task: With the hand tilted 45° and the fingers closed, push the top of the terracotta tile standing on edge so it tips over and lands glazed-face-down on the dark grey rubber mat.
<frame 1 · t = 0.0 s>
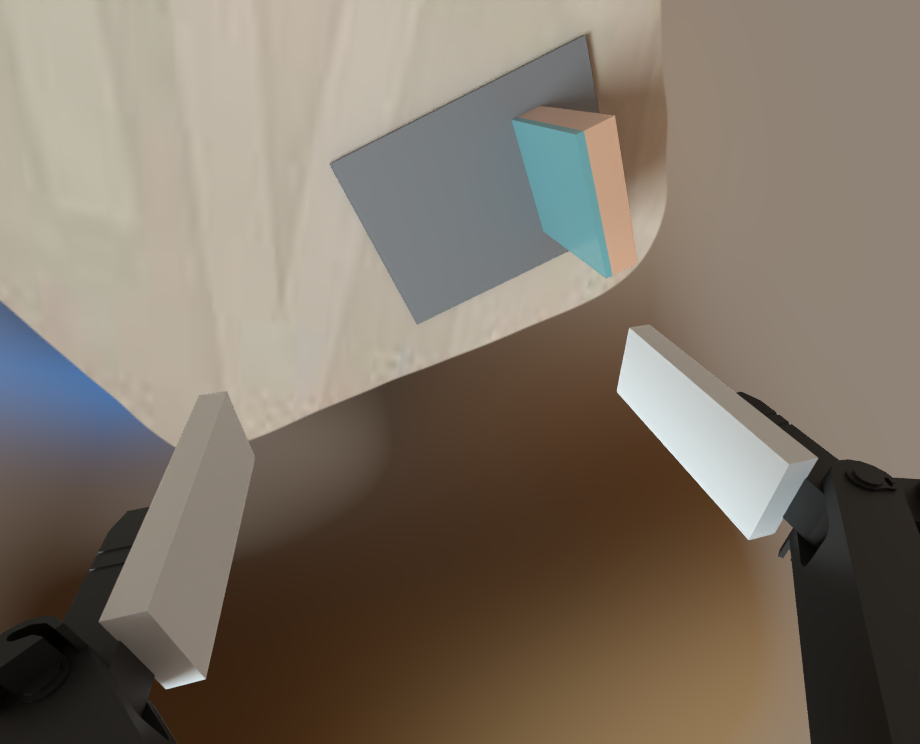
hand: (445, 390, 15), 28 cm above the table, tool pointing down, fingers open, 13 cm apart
mat: (488, 197, 39), on the table
tile: (541, 173, 38), point 1 cm above the table, touching mat
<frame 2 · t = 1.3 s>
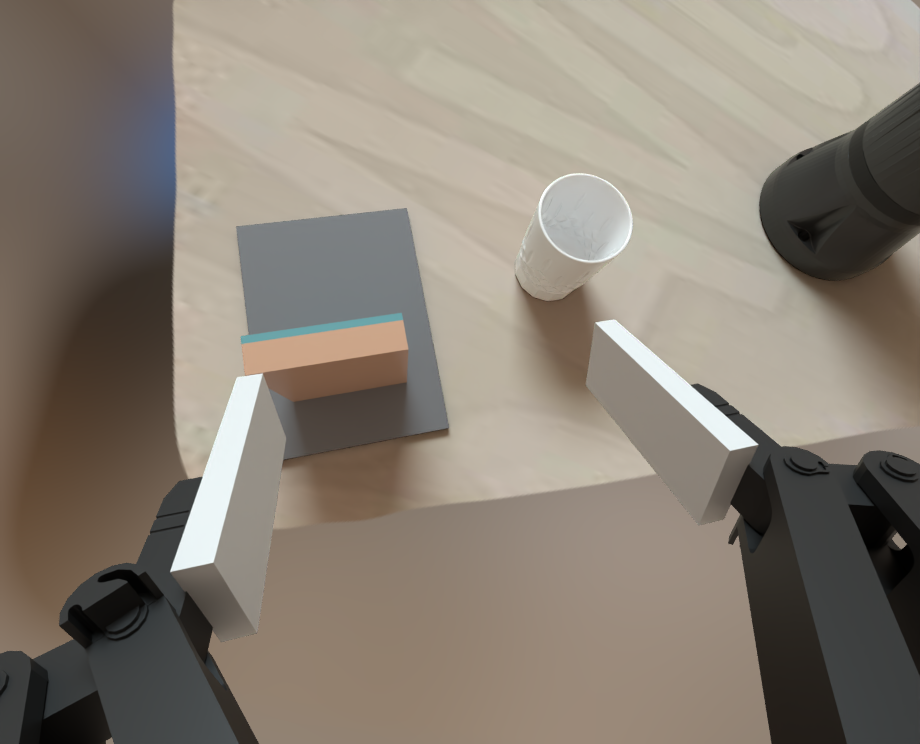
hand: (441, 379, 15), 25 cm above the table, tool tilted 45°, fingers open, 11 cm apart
white cup: (545, 271, 45), on the table
mat: (341, 327, 41), on the table
tile: (349, 378, 39), point 1 cm above the table, touching mat
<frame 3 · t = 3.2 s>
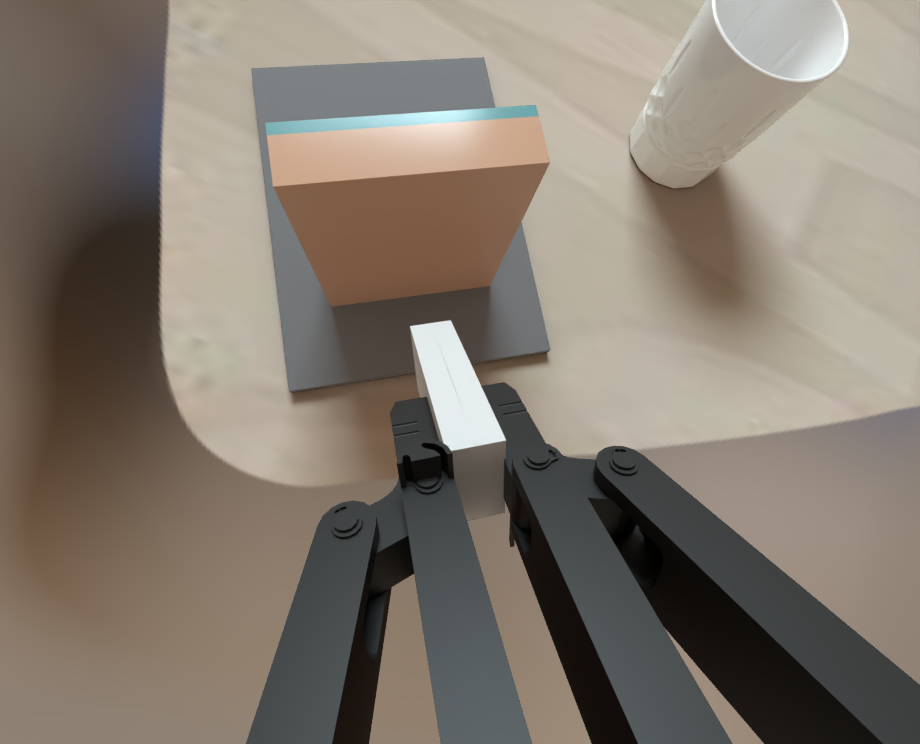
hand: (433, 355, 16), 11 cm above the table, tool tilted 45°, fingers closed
white cup: (668, 151, 33), on the table
mat: (397, 211, 29), on the table
tile: (409, 277, 28), point 1 cm above the table, touching mat
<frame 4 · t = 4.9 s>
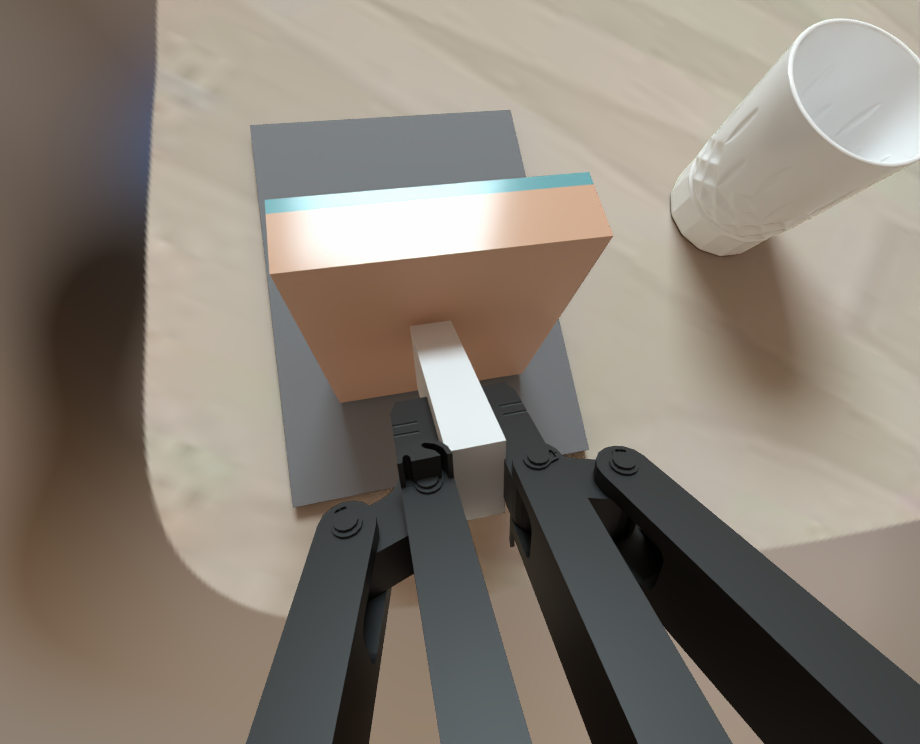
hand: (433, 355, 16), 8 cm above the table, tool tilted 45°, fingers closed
white cup: (712, 212, 30), on the table
mat: (415, 287, 26), on the table
tile: (430, 366, 24), point 1 cm above the table, tilted 9°, touching gripper, mat
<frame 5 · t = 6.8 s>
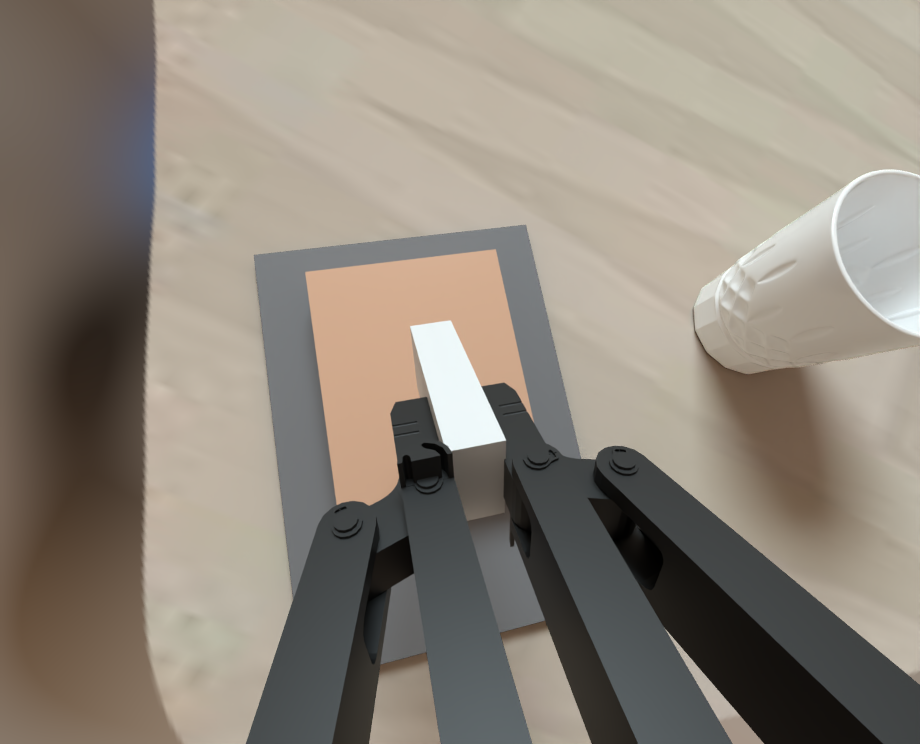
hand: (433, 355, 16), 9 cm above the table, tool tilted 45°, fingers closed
white cup: (737, 324, 29), on the table
mat: (428, 424, 24), on the table
tile: (443, 491, 22), point 2 cm above the table, tilted 90°, touching mat
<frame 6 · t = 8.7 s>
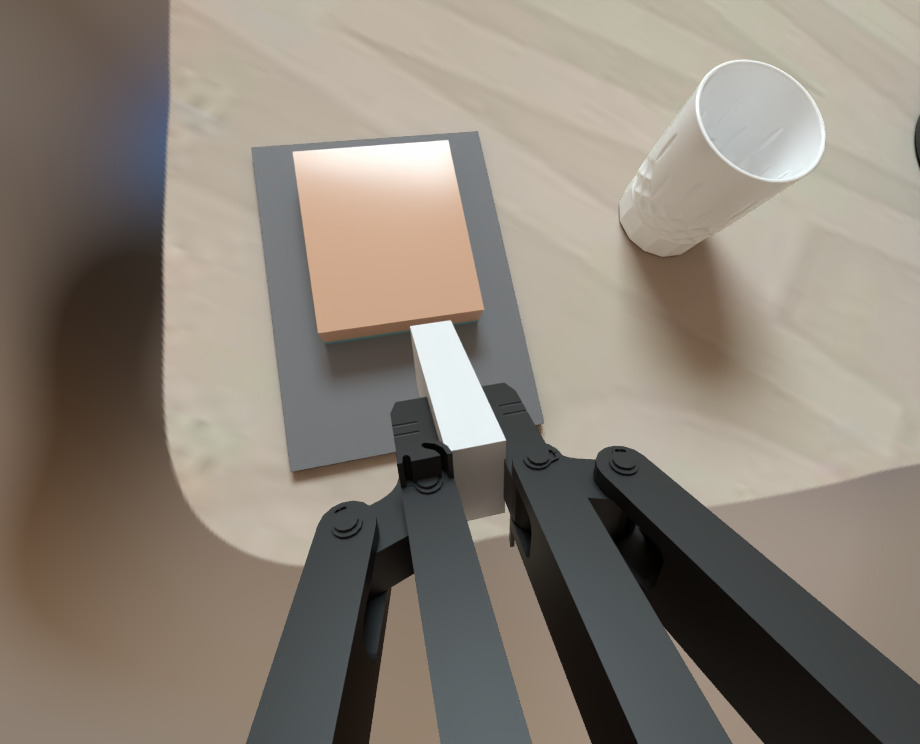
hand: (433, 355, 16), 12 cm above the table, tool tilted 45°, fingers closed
white cup: (657, 219, 34), on the table
mat: (394, 286, 30), on the table
tile: (403, 327, 27), point 2 cm above the table, tilted 90°, touching mat
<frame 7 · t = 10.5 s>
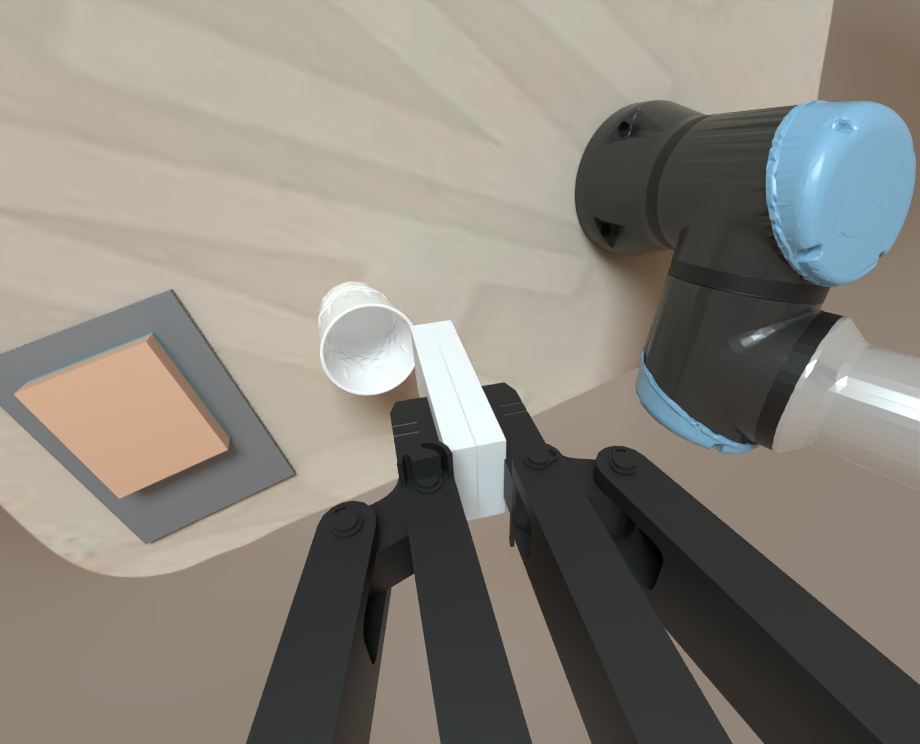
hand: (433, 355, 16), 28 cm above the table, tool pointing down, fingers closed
white cup: (353, 313, 44), on the table
mat: (158, 427, 41), on the table
tile: (177, 465, 42), point 2 cm above the table, tilted 90°, touching mat
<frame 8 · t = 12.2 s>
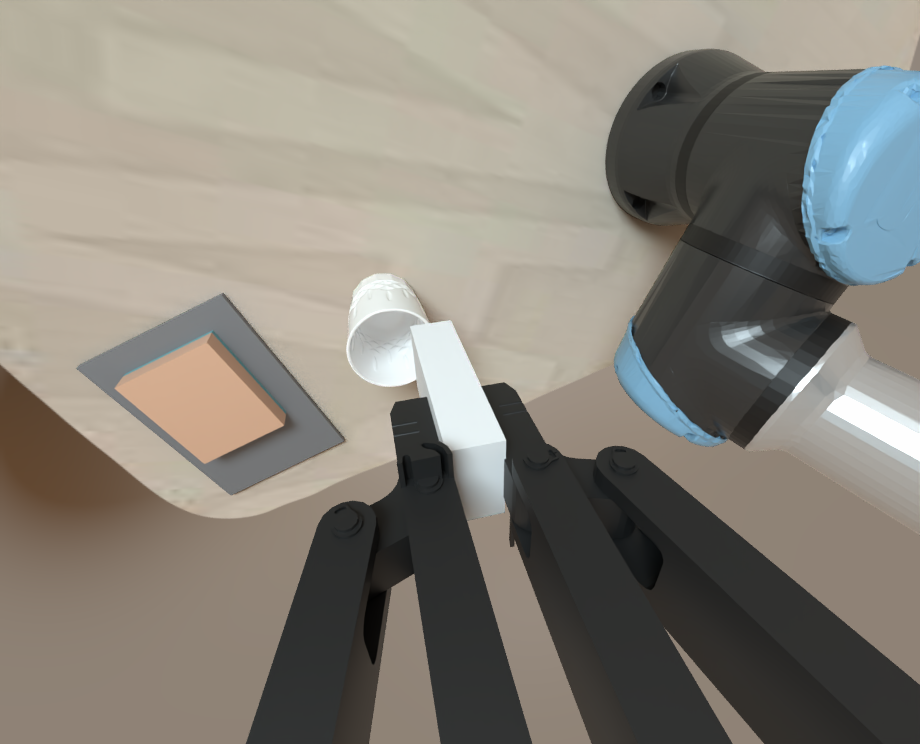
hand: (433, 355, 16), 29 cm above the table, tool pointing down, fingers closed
white cup: (383, 302, 47), on the table
mat: (228, 406, 49), on the table
tile: (246, 437, 49), point 2 cm above the table, tilted 90°, touching mat
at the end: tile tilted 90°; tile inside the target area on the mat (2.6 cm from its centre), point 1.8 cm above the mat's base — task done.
